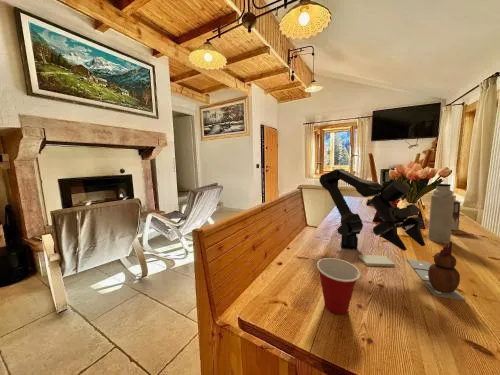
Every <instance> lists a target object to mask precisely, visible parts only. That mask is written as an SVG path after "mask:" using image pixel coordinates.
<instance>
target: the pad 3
mask: <svg viewBox="0 0 500 375" xmlns="http://www.w3.org/2000/svg"><path fill="white" fill-rule="evenodd" d="M423 284H424V285H425V286H426V288H427V289H428V290H429V291H430V293H431V294H432V295H433V297H440V298H445V299H450V300H451V299H452V300H457V301H463V302H465V301H466V299H465V297H464V296H463V295H462V294H461V293H459V291H457V289H456V290H455V291H454V292H450V293H447V292H442V291H439V290H436V289H435V288H433V287H432V285H431V283H430V282H426V281H423Z"/></svg>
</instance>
